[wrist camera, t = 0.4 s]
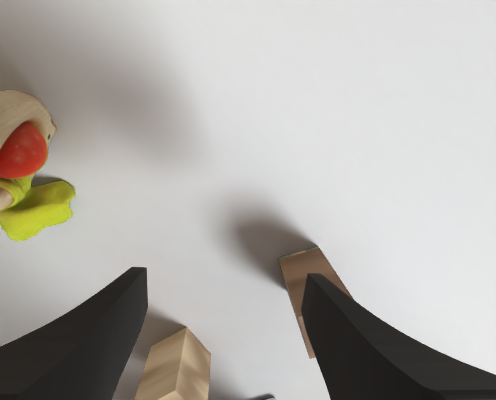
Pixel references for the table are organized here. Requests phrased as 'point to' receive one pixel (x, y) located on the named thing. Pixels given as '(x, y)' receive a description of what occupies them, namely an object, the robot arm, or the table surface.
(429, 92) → the table surface
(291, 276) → the walnut block
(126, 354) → the robot arm
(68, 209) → the bird rattle
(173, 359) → the oak block
